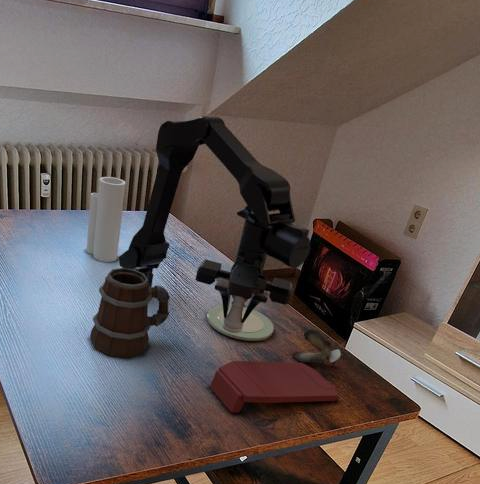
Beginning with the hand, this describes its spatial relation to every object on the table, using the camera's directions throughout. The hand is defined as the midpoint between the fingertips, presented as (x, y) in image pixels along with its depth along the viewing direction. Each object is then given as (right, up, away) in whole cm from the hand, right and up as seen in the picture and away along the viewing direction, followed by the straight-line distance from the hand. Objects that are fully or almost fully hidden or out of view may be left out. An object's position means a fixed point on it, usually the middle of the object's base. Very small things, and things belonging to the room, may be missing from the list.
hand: (233, 319), depth 111 cm
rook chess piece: (0, -2, +1) cm, 2 cm away
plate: (+4, +2, +16) cm, 17 cm away
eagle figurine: (+19, -8, +8) cm, 23 cm away
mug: (-22, -5, +2) cm, 23 cm away
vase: (-32, +25, +37) cm, 55 cm away
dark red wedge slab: (+7, -15, -4) cm, 18 cm away
